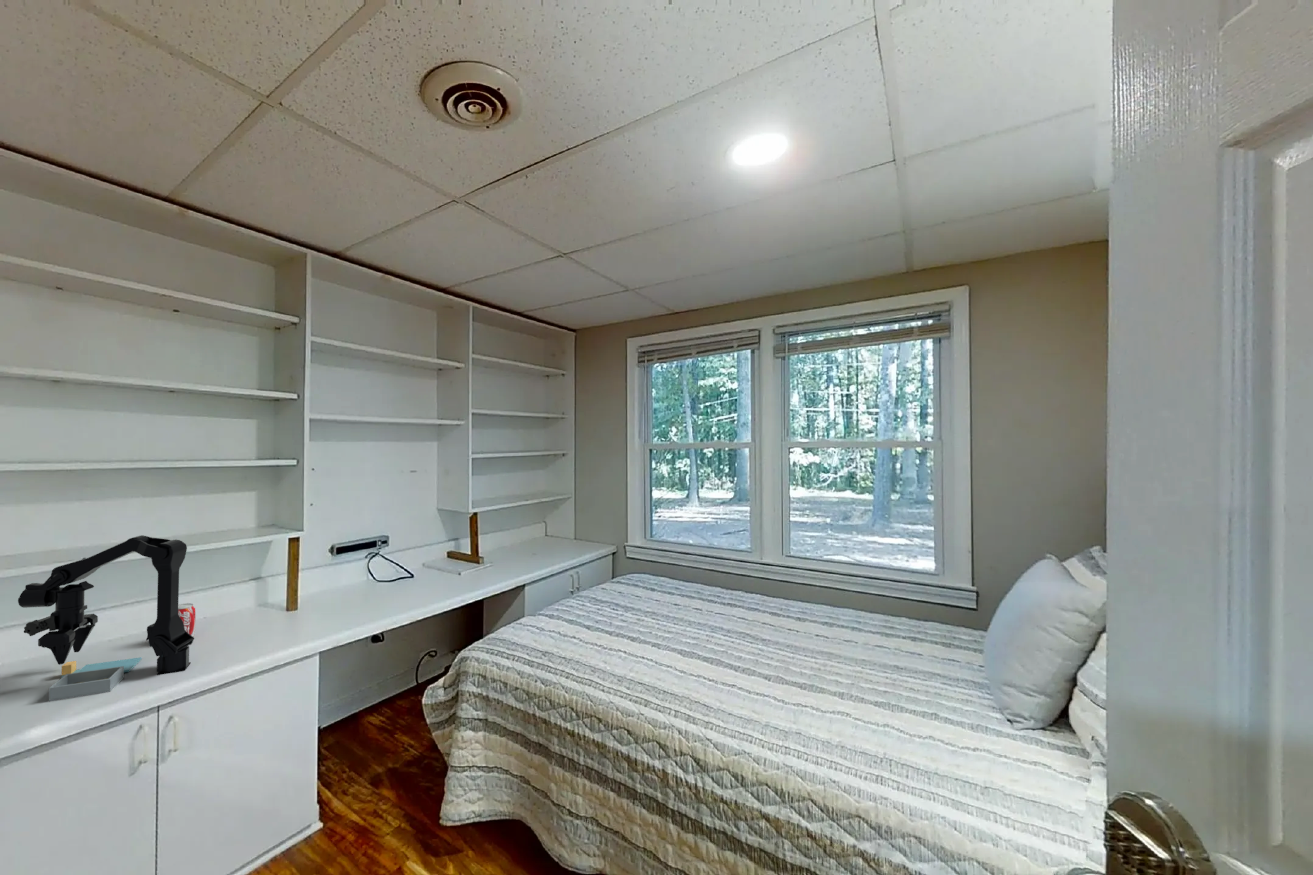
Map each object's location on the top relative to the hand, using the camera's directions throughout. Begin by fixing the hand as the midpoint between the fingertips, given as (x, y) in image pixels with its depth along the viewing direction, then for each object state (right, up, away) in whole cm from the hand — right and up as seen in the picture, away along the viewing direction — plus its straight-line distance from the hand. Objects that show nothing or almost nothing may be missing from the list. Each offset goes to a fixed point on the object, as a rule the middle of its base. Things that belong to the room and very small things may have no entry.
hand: (69, 657), depth 155 cm
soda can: (+8, -6, +28) cm, 30 cm away
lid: (+6, -6, +3) cm, 9 cm away
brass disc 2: (+16, -6, -6) cm, 18 cm away
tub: (+13, -6, -7) cm, 16 cm away
